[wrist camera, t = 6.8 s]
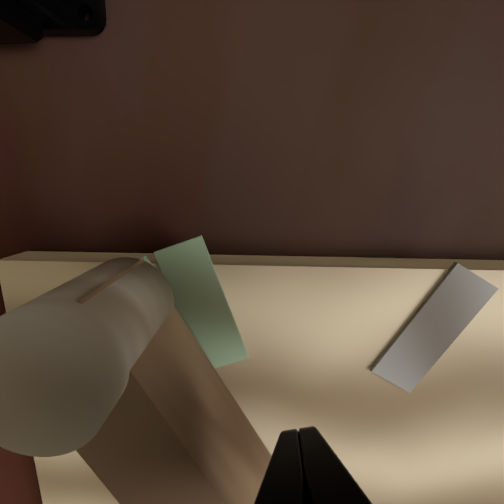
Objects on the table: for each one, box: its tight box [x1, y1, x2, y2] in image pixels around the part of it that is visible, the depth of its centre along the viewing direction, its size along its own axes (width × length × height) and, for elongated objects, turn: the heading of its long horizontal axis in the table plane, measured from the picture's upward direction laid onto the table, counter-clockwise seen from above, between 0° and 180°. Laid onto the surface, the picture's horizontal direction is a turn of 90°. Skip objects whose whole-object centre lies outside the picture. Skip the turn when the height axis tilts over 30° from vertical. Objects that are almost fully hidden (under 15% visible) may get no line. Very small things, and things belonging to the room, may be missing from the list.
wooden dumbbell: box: [0, 257, 271, 504], centre depth 9 cm, size 16×5×5 cm, turn 29°
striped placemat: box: [0, 235, 504, 504], centre depth 14 cm, size 23×22×2 cm
